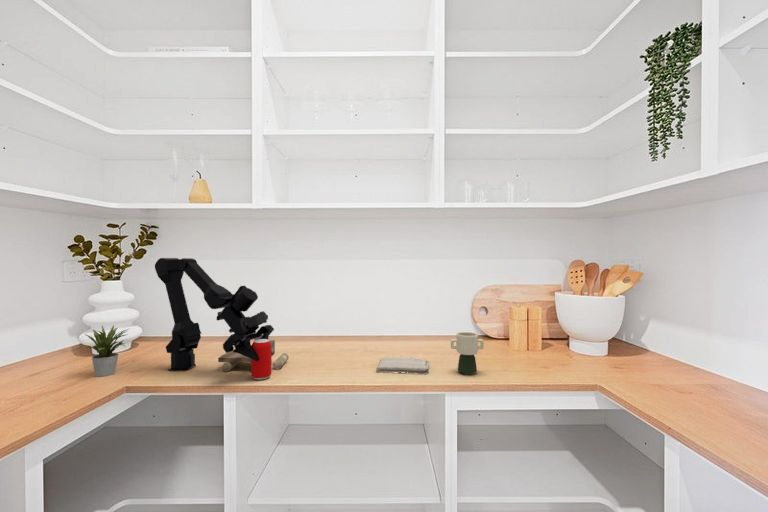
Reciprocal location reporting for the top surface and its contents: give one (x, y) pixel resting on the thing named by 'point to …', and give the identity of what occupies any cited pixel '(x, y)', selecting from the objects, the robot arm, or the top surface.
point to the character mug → (467, 351)
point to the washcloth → (403, 365)
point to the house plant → (105, 352)
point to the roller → (280, 361)
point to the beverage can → (261, 359)
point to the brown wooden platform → (238, 358)
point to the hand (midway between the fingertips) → (265, 357)
